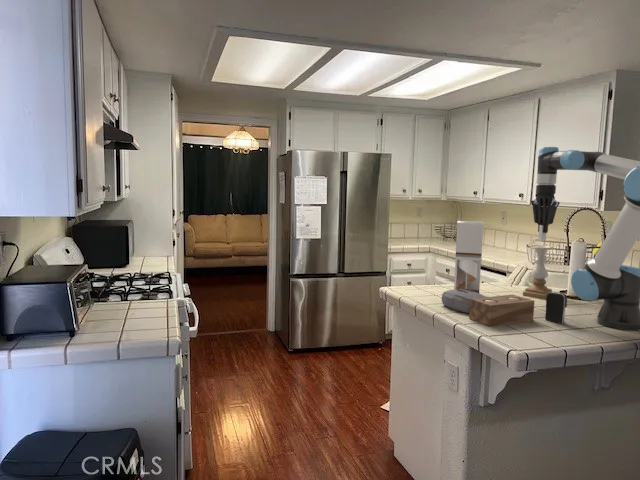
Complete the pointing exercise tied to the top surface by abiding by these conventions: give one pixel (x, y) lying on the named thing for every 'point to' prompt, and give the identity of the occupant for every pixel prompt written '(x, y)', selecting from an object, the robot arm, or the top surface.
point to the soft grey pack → (459, 299)
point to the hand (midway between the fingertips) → (542, 240)
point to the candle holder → (539, 274)
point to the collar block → (501, 310)
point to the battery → (555, 306)
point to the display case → (468, 255)
